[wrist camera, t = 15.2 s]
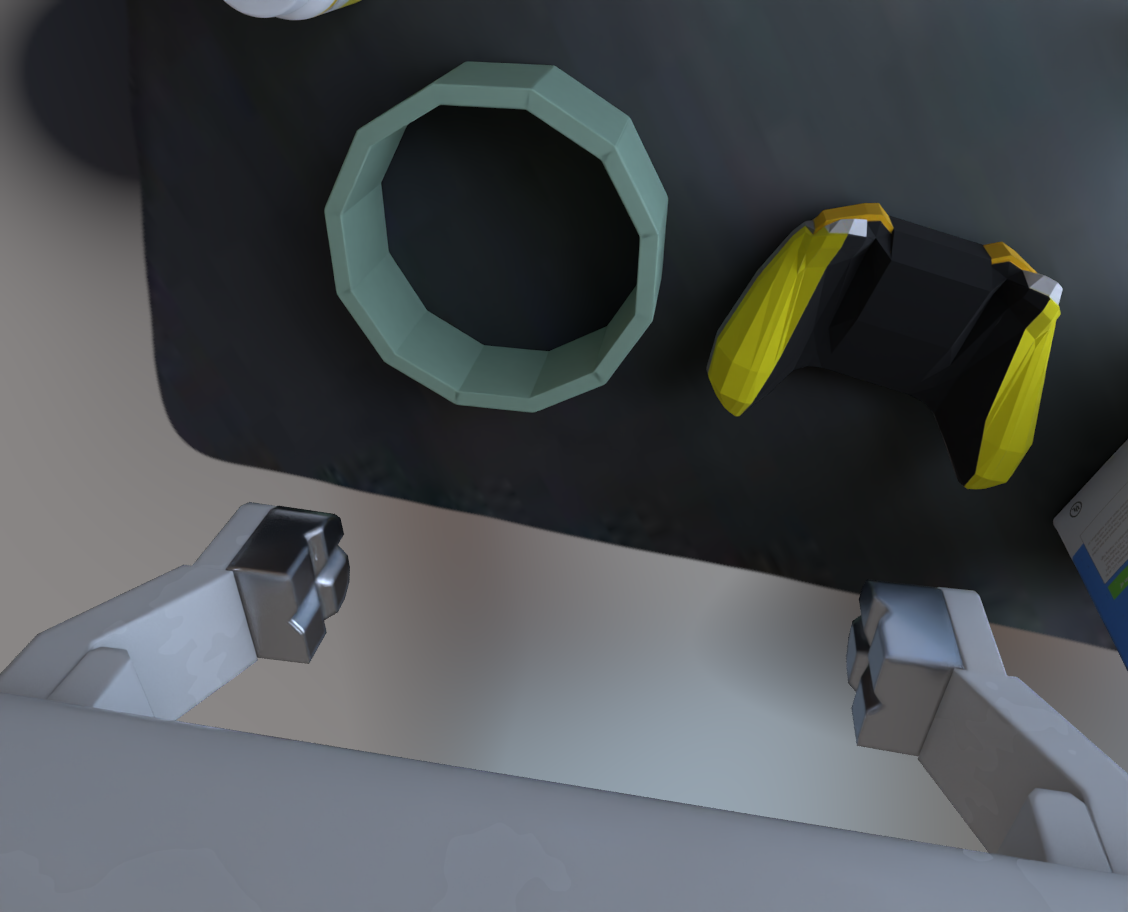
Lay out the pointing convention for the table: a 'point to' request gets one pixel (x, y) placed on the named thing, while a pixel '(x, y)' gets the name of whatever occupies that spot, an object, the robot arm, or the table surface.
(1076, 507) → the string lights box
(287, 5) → the supplement bottle
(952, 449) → the gaming controller
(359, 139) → the ring
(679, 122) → the table surface
